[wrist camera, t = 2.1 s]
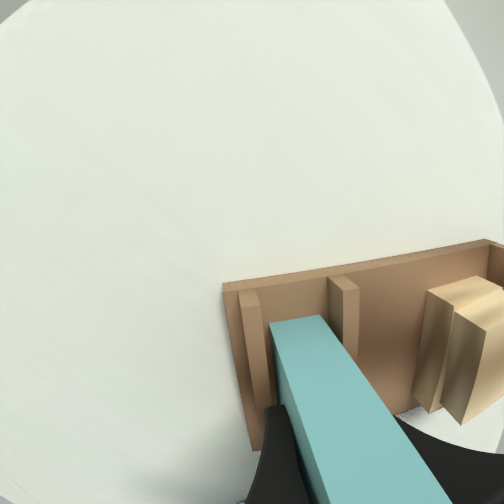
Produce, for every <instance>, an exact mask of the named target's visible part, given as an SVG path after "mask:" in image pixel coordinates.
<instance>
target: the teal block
mask: <svg viewBox="0 0 504 504" xmlns="http://www.w3.org/2000/svg"><path fill="white" fill-rule="evenodd" d="M269 331H270V340H271V350H272V359H273V368H274V378H275V387H276V397H277V405H282V404H284V405H285V407H286V410H287V412H288V415H289V418H290V423H291V429H292V434H293V440H294V446H295V452H296V457H297V463H298V467H299V471H300V475H301V478H302V481H303V484H304V487H305V490H306V493H307V495H308V498H309V501H310V504H452V502H451V501H450V499H449V498H448V496H447V495H446V493H445V492H444V490H443V489H442V487H441V486H440V484H439V483H438V481H437V480H436V478H435V477H434V475H433V474H432V472H431V471H430V469H429V468H428V466H427V465H426V463H425V462H424V460H423V459H422V458H421V456H420V455H419V453H418V452H417V450H416V449H415V447H414V446H413V444H412V443H411V442H410V440H409V439H408V437H407V436H406V434H405V433H404V431H403V430H402V429H401V427H400V426H399V424H398V423H397V421H396V420H395V419H394V417H393V416H392V414H391V413H390V411H389V410H388V409H387V407H386V406H385V404H384V403H383V402H382V400H381V399H380V397H379V396H378V394H377V393H376V392H375V390H374V389H373V387H372V386H371V385H370V383H369V382H368V380H367V379H366V378H365V376H364V375H363V373H362V372H361V371H360V369H359V368H358V366H357V365H356V364H355V362H354V361H353V359H352V358H351V357H350V355H349V354H348V353H347V351H346V350H345V348H344V347H343V346H342V344H341V343H340V341H339V340H338V339H337V337H336V336H335V335H334V333H333V332H332V330H331V329H330V328H329V326H328V325H327V324H326V322H325V321H324V320H323V318H322V317H321V315H320V314H319V315H314V316H308V317H303V318H297V319H292V320H286V321H280V322H274V323H269Z"/></svg>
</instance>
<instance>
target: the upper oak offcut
mask: <svg viewBox="0 0 504 504" xmlns="http://www.w3.org/2000/svg"><path fill="white" fill-rule="evenodd" d="M503 395H504V290H502V289H500V288H499V289H498V290H496V291H494V292H492V293H490V294H488V295H486V296H484V297H483V298H481V299H479V300H477V301H475V302H473V303H471V304H469V305H467V306H465V307H463V308H460V309H458V310H456V311H455V313H454V323H453V332H452V339H451V347H450V353H449V359H448V365H447V370H446V376H445V381H444V385H443V390H442V394H441V399H440V403H441V404H442V405H443V407H444V408H445V409H446V410H447V411H448V412H449V413H450V414H451V415H452V416H453V418H454V419H455V420H456V421H457V422H458V423H459V424H460V425H463V424H464V423H466V422H467V421H469V420H470V419H472V418H473V417H475V416H476V415H478V414H479V413H481V412H482V411H483V410H485V409H486V408H488V407H489V406H490V405H492V404H493V403H494V402H496V401H497V400H498V399H500V398H501V397H502V396H503Z"/></svg>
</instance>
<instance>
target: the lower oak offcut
mask: <svg viewBox="0 0 504 504" xmlns="http://www.w3.org/2000/svg"><path fill="white" fill-rule="evenodd" d="M499 288H500V289H502V290H503V287H501V286H499V285H496V284H494V283H492V282H490V281H488V280H485V279H483V278H481V277H479V276H474V277H470V278H467V279H464V280H460V281H457V282H453V283H450V284H447V285H443V286H439V287H436V288H432V289H428V290H427V293H426V304H425V313H424V321H423V329H422V336H421V342H420V348H419V354H418V360H417V365H416V370H415V375H414V380H413V384H412V389H411V393H412V395H413V396H414V397H415V398H416V399H417V400H418V402H419V403H420V404H421V405H422V406H423V408H424V409H425V410H426V411H427V412H428V414H430V413H432V412H434V411H436V410H438V409H441V408H443V405H442V404H441V403H440V399H441V394H442V390H443V385H444V381H445V376H446V370H447V365H448V359H449V353H450V347H451V339H452V332H453V323H454V313H455V311H456V310H458V309H460V308H463V307H465V306H467V305H469V304H471V303H473V302H475V301H477V300H479V299H481V298H483V297H484V296H486V295H488V294H490V293H492V292H494V291H496V290H498V289H499Z"/></svg>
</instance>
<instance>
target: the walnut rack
mask: <svg viewBox="0 0 504 504" xmlns="http://www.w3.org/2000/svg"><path fill="white" fill-rule="evenodd" d="M474 276H479V277H481V278H483V279H485V280H488V281H490V282H492V283H494V284H496V285H499V286H501V287H503V290H504V245H502V244H499V243H497V242H494V241H490V240H487V239H482V240H477V241H472V242H467V243H462V244H457V245H452V246H446V247H441V248H436V249H431V250H425V251H420V252H415V253H409V254H404V255H398V256H393V257H387V258H381V259H375V260H370V261H364V262H358V263H352V264H346V265H340V266H334V267H328V268H321V269H315V270H309V271H302V272H296V273H289V274H283V275H276V276H269V277H263V278H256V279H249V280H242V281H235V282H228V283H223V297H224V303H225V309H226V315H227V321H228V327H229V333H230V338H231V344H232V350H233V355H234V361H235V366H236V372H237V377H238V382H239V387H240V393H241V398H242V403H243V408H244V413H245V418H246V423H247V428H248V432H249V437H250V442H251V447H252V451H258V450H262V446H263V440H264V432H265V412H264V409H266V408H267V407H271V406H276V405H277V397H276V387H275V378H274V368H273V359H272V350H271V340H270V331H269V323H274V322H280V321H286V320H292V319H297V318H303V317H308V316H314V315H319V314H320V315H321V317H322V318H323V320H324V321H325V322H326V324H327V325H328V326H329V328H330V329H331V330H332V332H333V333H334V335H335V336H336V337H337V339H338V340H339V341H340V343H341V344H342V346H343V347H344V348H345V350H346V351H347V353H348V354H349V355H350V357H351V358H352V359H353V361H354V362H355V364H356V365H357V366H358V368H359V369H360V371H361V372H362V373H363V375H364V376H365V378H366V379H367V380H368V382H369V383H370V385H371V386H372V387H373V389H374V390H375V392H376V393H377V394H378V396H379V397H380V399H381V400H382V402H383V403H384V404H385V406H386V407H387V409H388V410H389V411H390V413H391V414H393V415H394V416H395V415H398V414H400V413H403V412H405V411H408V410H410V409H413V408H415V407H417V406H420V405H421V404H420V403H419V402H418V400H417V399H416V398H415V397H414V396H413V395H412V393H411V389H412V384H413V380H414V375H415V370H416V365H417V360H418V354H419V348H420V342H421V336H422V329H423V321H424V313H425V304H426V293H427V290H428V289H432V288H436V287H439V286H443V285H447V284H450V283H453V282H457V281H460V280H464V279H467V278H470V277H474Z"/></svg>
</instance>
